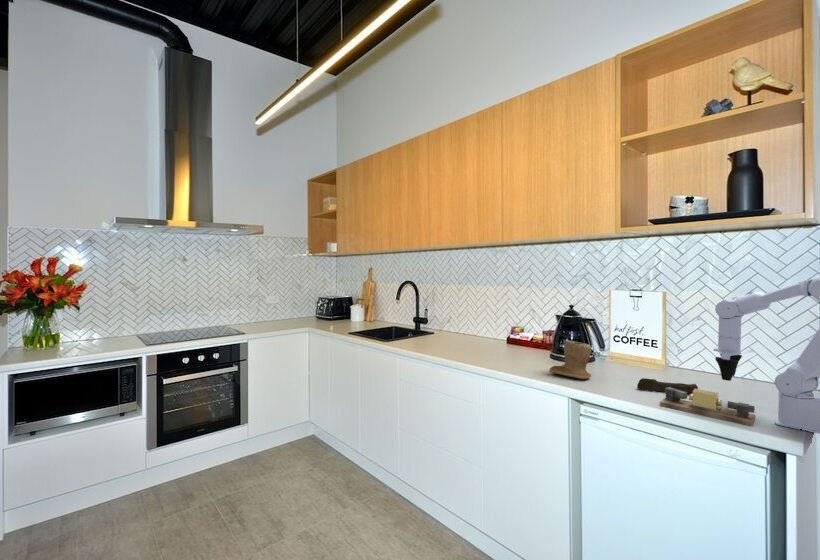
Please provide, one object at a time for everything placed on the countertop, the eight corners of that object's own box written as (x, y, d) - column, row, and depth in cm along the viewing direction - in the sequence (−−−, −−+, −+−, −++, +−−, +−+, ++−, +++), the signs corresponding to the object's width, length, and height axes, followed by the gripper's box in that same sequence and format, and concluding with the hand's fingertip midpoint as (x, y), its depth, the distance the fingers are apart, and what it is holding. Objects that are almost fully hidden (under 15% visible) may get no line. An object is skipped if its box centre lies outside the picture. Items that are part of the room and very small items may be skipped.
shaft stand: (755, 418, 117) (755, 403, 117) (752, 426, 112) (752, 409, 112) (666, 400, 134) (666, 386, 134) (660, 405, 128) (660, 391, 128)
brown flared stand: (596, 377, 162) (596, 341, 162) (584, 382, 154) (585, 345, 154) (560, 370, 173) (561, 336, 173) (548, 375, 165) (548, 340, 164)
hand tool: (694, 393, 142) (695, 381, 142) (698, 396, 138) (699, 384, 138) (636, 388, 148) (636, 376, 148) (638, 391, 145) (638, 378, 145)
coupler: (722, 407, 121) (722, 393, 121) (720, 411, 119) (720, 396, 118) (691, 401, 127) (691, 387, 127) (688, 404, 124) (688, 390, 124)
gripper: (717, 333, 135) (716, 371, 136) (710, 337, 125) (709, 379, 126) (744, 335, 130) (743, 375, 131) (738, 340, 120) (737, 384, 121)
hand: (728, 377), depth 128 cm, fingers open, 7 cm apart
